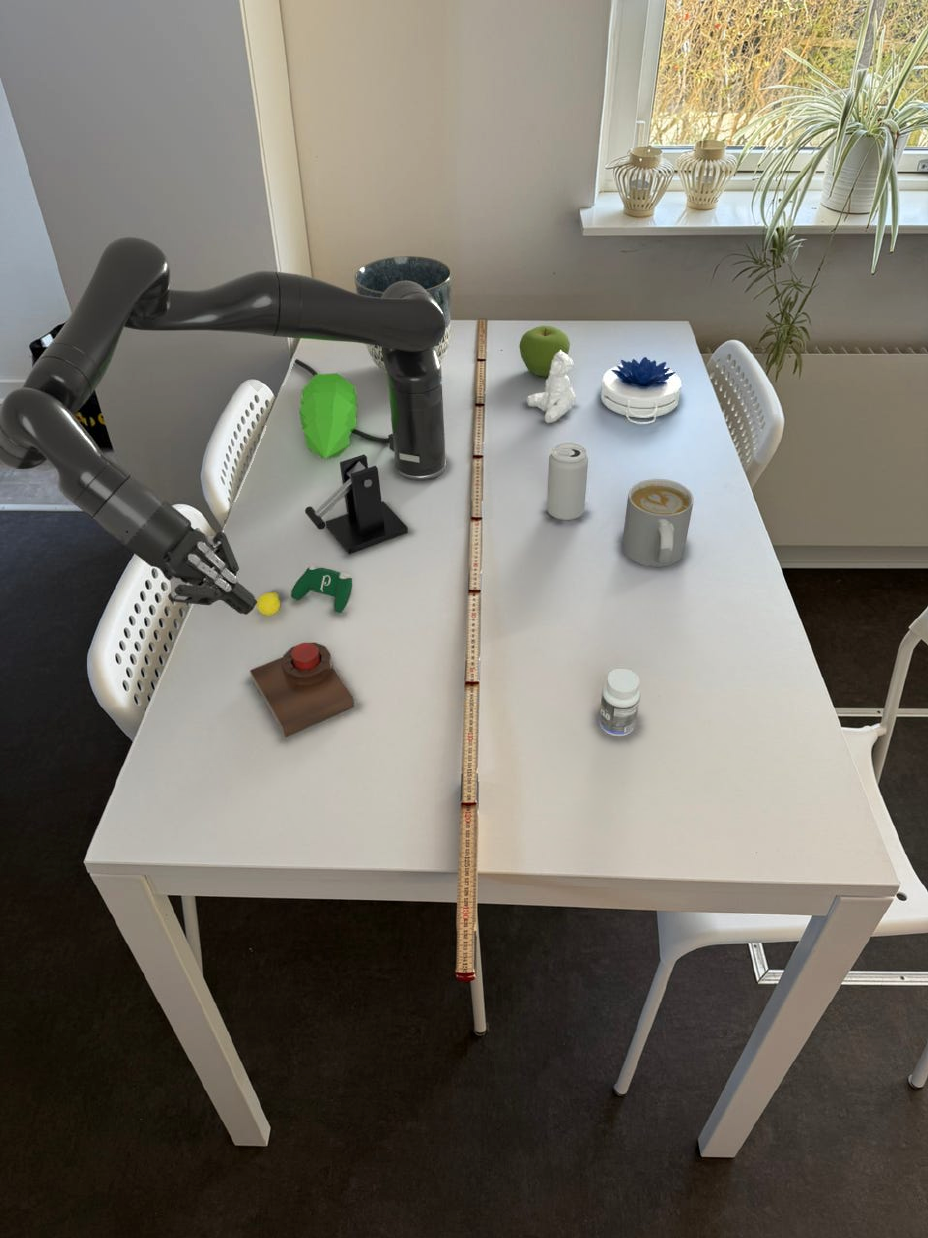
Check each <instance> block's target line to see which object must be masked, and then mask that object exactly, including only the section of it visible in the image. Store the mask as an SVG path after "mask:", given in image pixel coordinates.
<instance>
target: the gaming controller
mask: <svg viewBox="0 0 928 1238" xmlns="http://www.w3.org/2000/svg"><path fill="white" fill-rule="evenodd" d="M290 591H291V592H290V597H291V599H293V600H296V601H299V600H302V599H303V598H304V597H305V596H306V595H307V594H308V593H310V592H311V591H312V592H313V591H314V592H316V593H320V594H323V595H326V596H329V597H332V598H334V599H333V609H334V612H335V613H338V614H341V613H342V612H343V611H344V610H345V608H346V607H347V604H348V602H349V600H350V598H351V595H352V591H353V578H352V576H351V575H349V574H348V573H343V572H339V571H336V570H333V569H330V568H326V567H320V566H319V565H317V564H311V563H310V564H309V565H308V567H307V568H306V570H305V571H304V572H303V574H302V575H301V576H299V578H298V579H297V581H295V584H294V585H293V586H292V589H291V590H290Z"/></svg>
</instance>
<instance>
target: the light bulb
mask: <svg viewBox="0 0 928 1238" xmlns="http://www.w3.org/2000/svg"><path fill="white" fill-rule="evenodd" d="M280 596H281V593H280V591H279V590H278V589H272V591H270V592H264V593H263V594H261V595H260V596H259V597H257V604H256V605H255V607H256V608H257V610H258V612H259V613H260V614H261V615H263V616H269V617H270V616H271V617H272V616H273V615H275V614H277V613H278V612H279V611H280V607H281V601H280Z"/></svg>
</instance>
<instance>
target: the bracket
mask: <svg viewBox="0 0 928 1238" xmlns="http://www.w3.org/2000/svg"><path fill="white" fill-rule="evenodd" d="M358 462H360V463H361V464H362V465H363V466H364V467H365V468H366V469H363V470H360V471H357V472H354V473H351V482H352V489H351V490H350V491H349V492H348V493H347V494H346V495H345V496H344V501H345V509H346V513H345V514H343V515H339V516H337V517H335V518H331V519H329V520H326V521H325V528H327V530H328V531H329V532H330V533H331V535H332V536H333V537H334V539H335V540H336V541H337V542H338V543H339V545H340V546H341V547H342V548H343V549H344V551H345V552H346V553H347V555H352V554H354V553H357V552H360V551H363V550H366V549H368V548H371V547H374V546H377V545H379V544H381V543H384V542H388V541H390V540H392V539H395V538H398V537H400V536H403V535H406V534H408V533H409V529H408V526H407V524H406V523H404V522H403V520H402V519H401V518H400V517H399V516H398V515H397V514H396V513H395V512H394V511H393V510H392V508H390V507H389V505H387V503H386V502H385V501H384V500H383V501H382V493H381V484H380V476H379V475H380V474H379V468H378V467H377V466H376V465H372V466H370V467H369V465H368V464H369V463H368V456H367V455H365V454H360V455H358V456H355V457H351V458H348V459H345V460H343V461H339V467H340V468H339V469H340V475H341V480H342V481H341V482H342V485H343V484H344V483H345V482H347V481H348V480H349V479H350V477H349V475H348V474H347V473H348V472H349V471H350V470H351V469H352V468H353V467H354V466H355V465H356V464H357V463H358Z"/></svg>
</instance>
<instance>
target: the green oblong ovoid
mask: <svg viewBox="0 0 928 1238" xmlns="http://www.w3.org/2000/svg"><path fill="white" fill-rule="evenodd" d="M317 374H318V373H317ZM356 391H357V390H356V386H355V385H354V384H353V383H351V381H349V380H348V379H346V378H345V377H343V376H342V375H341V374H339V372H335V373H321V374H318V375H314V376H312V377H311V378H310V380H309V381H308V382H307V383H306V384H305V386H304V387H303V388H302V389H301V394H302V395H301V396H302V397H301V398H300V404H301V405H300V406H299V408H298V410H299V416H300V422H301V429H302V431H303V434H304V440H305V441H304V442H305V447H306V448H307V449H308V450H310V451H311V452H313V453H314V454H315V455H317V456H318V457H319V458H322V459H325V460H326V459H331V458H338V457H340V456H341V455H342V454H343V453H344V451H346V449H348V448H349V446H350V445H351V440H350V436H351V434H352V431H353V430H354V429H357V427H358V425H357V417H358V411H357V408H358V400H357V392H356Z"/></svg>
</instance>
